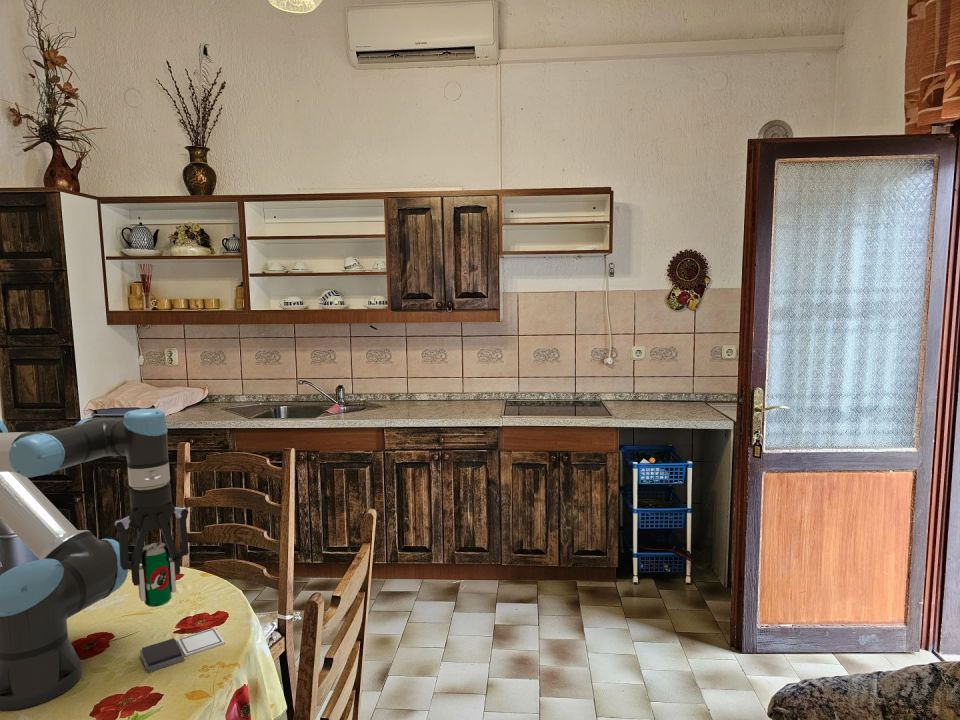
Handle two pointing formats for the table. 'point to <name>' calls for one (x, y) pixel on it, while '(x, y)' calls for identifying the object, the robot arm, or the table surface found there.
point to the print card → (200, 641)
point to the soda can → (156, 574)
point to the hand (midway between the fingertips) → (157, 594)
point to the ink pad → (161, 655)
